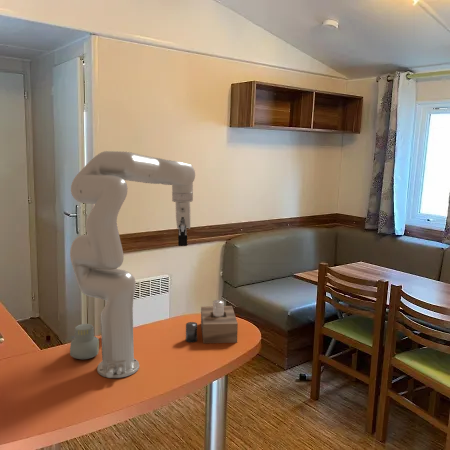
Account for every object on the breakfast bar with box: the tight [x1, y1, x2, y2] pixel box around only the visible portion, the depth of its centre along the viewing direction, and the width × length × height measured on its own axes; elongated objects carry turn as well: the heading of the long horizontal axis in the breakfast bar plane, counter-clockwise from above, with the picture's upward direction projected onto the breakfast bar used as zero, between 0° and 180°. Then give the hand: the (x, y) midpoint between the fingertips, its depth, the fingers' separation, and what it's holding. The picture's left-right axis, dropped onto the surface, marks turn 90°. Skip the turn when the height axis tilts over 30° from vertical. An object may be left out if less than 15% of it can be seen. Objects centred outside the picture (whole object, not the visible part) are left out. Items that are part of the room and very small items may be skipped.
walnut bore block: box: [200, 305, 238, 344], centre depth 173 cm, size 18×12×7 cm, turn 5°
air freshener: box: [69, 323, 100, 360], centre depth 153 cm, size 11×8×10 cm
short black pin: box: [185, 321, 198, 344], centre depth 167 cm, size 4×4×6 cm
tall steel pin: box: [212, 299, 225, 318], centre depth 173 cm, size 4×4×12 cm
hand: (182, 242), depth 175 cm, fingers open, 9 cm apart
